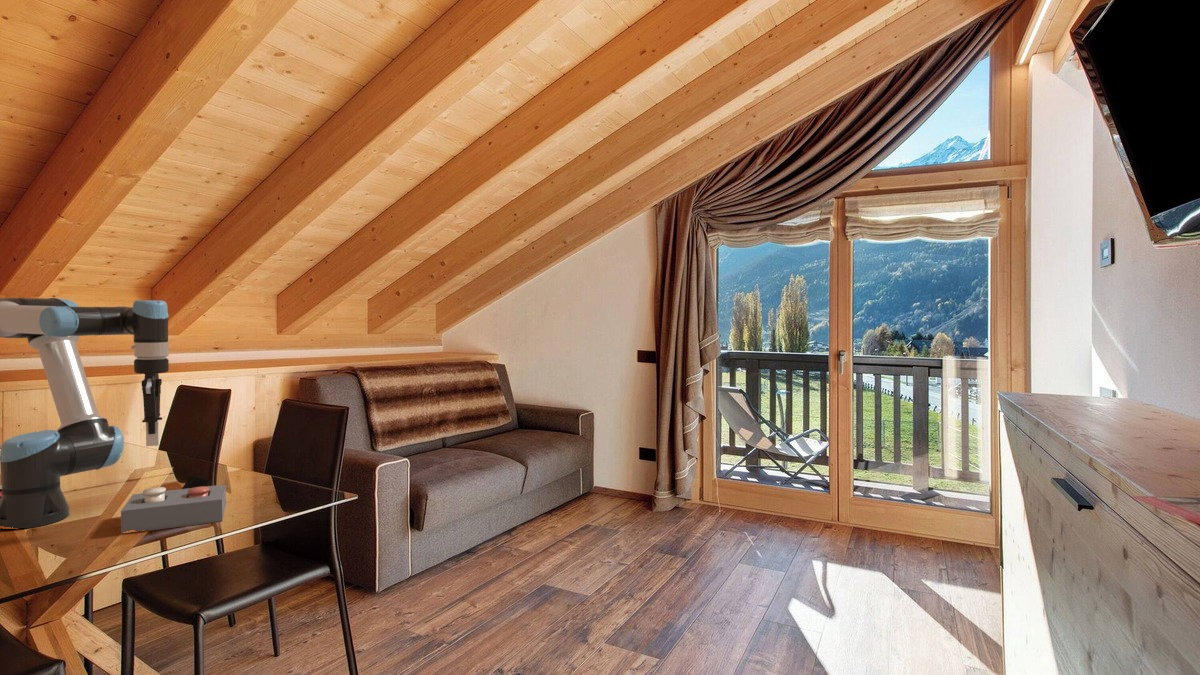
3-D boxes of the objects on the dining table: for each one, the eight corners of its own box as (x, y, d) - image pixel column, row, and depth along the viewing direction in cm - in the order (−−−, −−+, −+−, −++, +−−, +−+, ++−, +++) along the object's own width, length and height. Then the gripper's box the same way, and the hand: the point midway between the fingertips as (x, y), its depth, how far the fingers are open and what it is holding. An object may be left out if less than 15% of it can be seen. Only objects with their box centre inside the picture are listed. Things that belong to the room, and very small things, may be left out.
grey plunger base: (133, 515, 172) (132, 494, 171) (225, 504, 182) (225, 484, 182) (121, 534, 158) (120, 511, 157) (222, 521, 168) (222, 499, 168)
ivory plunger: (145, 513, 168) (144, 488, 168) (167, 510, 171) (166, 486, 171) (141, 518, 164) (141, 493, 164) (164, 515, 166) (164, 490, 166)
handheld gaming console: (152, 496, 184) (175, 466, 189) (170, 505, 190) (192, 475, 195) (179, 506, 180) (202, 475, 185) (197, 515, 186) (218, 484, 191)
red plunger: (189, 511, 173) (188, 487, 173) (210, 509, 176) (209, 485, 175) (187, 517, 169) (186, 492, 169) (208, 514, 171) (208, 490, 171)
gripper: (138, 356, 170) (139, 441, 171) (129, 360, 158) (130, 451, 159) (171, 355, 173) (172, 439, 174) (164, 359, 162) (166, 449, 163)
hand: (152, 445), depth 167 cm, fingers closed
